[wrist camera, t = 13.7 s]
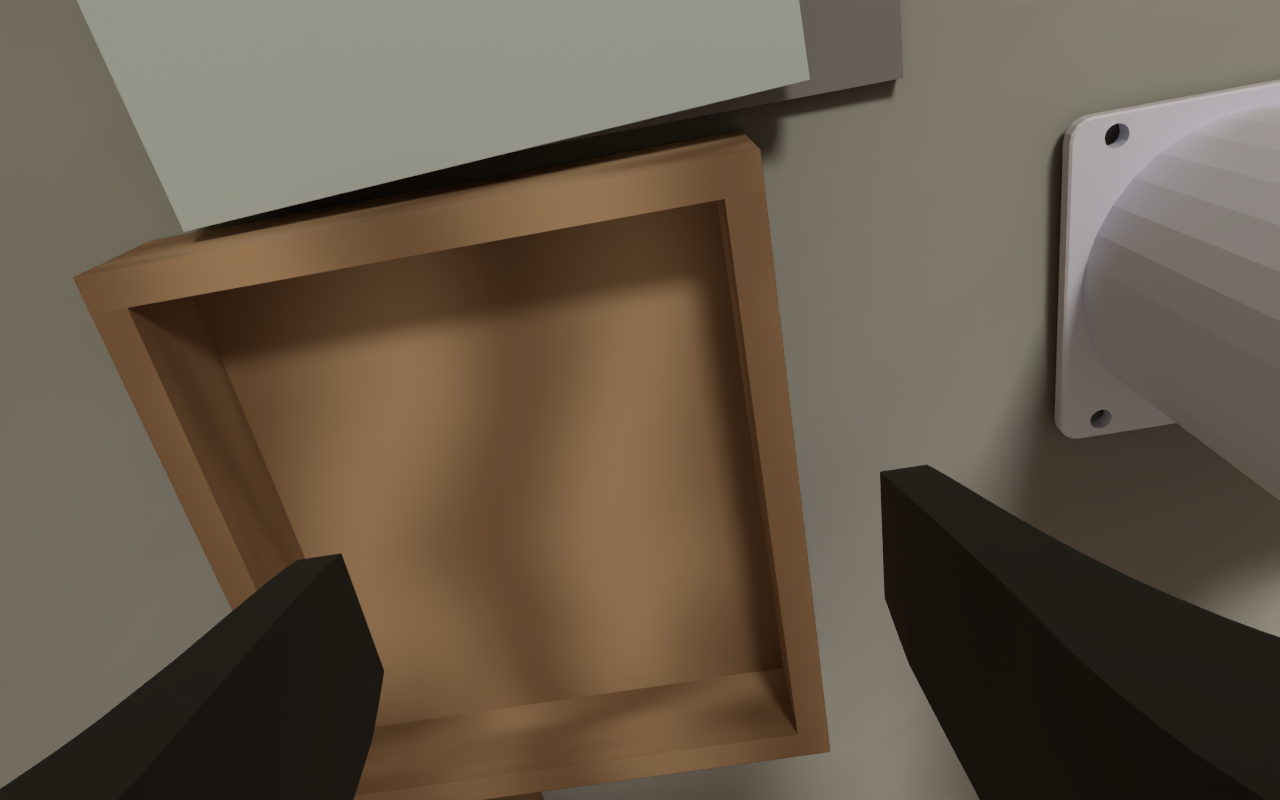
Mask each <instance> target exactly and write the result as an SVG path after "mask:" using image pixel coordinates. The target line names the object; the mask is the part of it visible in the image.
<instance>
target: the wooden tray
mask: <svg viewBox="0 0 1280 800" xmlns="http://www.w3.org/2000/svg"><path fill="white" fill-rule="evenodd" d="M73 279H74V281H75V283H76V285H77V287H78V289H79V291H80V293H81V295H82V298H83V300H84V302H85V304H86V306H87V308H88V310H89V312H90V314H91V316H92V318H93V321H94V323H95V325H96V327H97V329H98V331H99V333H100V335H101V337H102V339H103V341H104V344H105V346H106V348H107V350H108V352H109V354H110V356H111V358H112V360H113V362H114V364H115V367H116V369H117V371H118V373H119V375H120V377H121V379H122V381H123V383H124V385H125V387H126V389H127V392H128V394H129V396H130V398H131V400H132V402H133V404H134V406H135V408H136V410H137V412H138V415H139V417H140V419H141V421H142V423H143V425H144V427H145V429H146V431H147V433H148V435H149V438H150V440H151V442H152V444H153V446H154V448H155V450H156V452H157V454H158V456H159V458H160V460H161V463H162V465H163V467H164V469H165V471H166V473H167V475H168V477H169V479H170V481H171V483H172V486H173V488H174V490H175V492H176V494H177V496H178V498H179V500H180V502H181V504H182V506H183V509H184V511H185V513H186V515H187V517H188V519H189V521H190V523H191V525H192V527H193V529H194V532H195V534H196V536H197V538H198V540H199V542H200V544H201V546H202V548H203V550H204V552H205V554H206V557H207V559H208V561H209V563H210V565H211V567H212V569H213V571H214V573H215V575H216V577H217V580H218V582H219V584H220V586H221V588H222V590H223V592H224V594H225V596H226V598H227V600H228V603H229V605H230V607H231V609H232V611H233V610H235V609H236V608H237V607H238V606H239V605H240V604H242V603H243V602H244V601H245V600H246V599H248V598H249V597H250V596H251V595H252V594H254V593H255V592H256V591H257V590H258V589H260V588H261V587H262V586H263V585H264V584H266V583H267V582H268V581H269V580H271V579H272V578H273V577H274V576H276V575H277V574H278V573H280V572H281V571H282V570H283V569H285V568H286V567H288V566H289V565H291V564H292V563H293V562H295V561H296V560H300V559H307V558H313V557H320V556H327V555H333V554H340V553H342V556H343V559H344V562H345V564H346V567H347V570H348V573H349V575H350V578H351V581H352V584H353V586H354V589H355V592H356V594H357V597H358V600H359V603H360V605H361V608H362V611H363V614H364V616H365V619H366V622H367V625H368V627H369V630H370V633H371V636H372V638H373V641H374V644H375V647H376V649H377V652H378V655H379V658H380V660H381V663H382V666H383V669H384V676H383V683H382V689H381V695H380V701H379V707H378V713H377V718H376V723H375V728H374V733H373V738H372V743H371V746H370V749H369V752H368V756H367V759H366V762H365V765H364V768H363V772H362V775H361V778H360V781H359V784H358V787H357V790H356V793H355V796H354V800H543V797H542V794H541V792H542V791H549V790H556V789H564V788H571V787H578V786H585V785H593V784H600V783H607V782H614V781H622V780H629V779H636V778H644V777H651V776H658V775H665V774H673V773H680V772H687V771H694V770H702V769H709V768H716V767H724V766H731V765H738V764H745V763H753V762H760V761H767V760H774V759H782V758H789V757H796V756H803V755H811V754H818V753H825V752H830V745H829V736H828V727H827V719H826V710H825V702H824V693H823V684H822V676H821V667H820V659H819V650H818V641H817V633H816V624H815V615H814V607H813V598H812V590H811V581H810V572H809V564H808V555H807V546H806V538H805V529H804V521H803V512H802V503H801V495H800V486H799V477H798V469H797V460H796V452H795V443H794V434H793V426H792V417H791V409H790V400H789V391H788V383H787V374H786V365H785V357H784V348H783V340H782V331H781V322H780V314H779V305H778V296H777V288H776V279H775V271H774V262H773V253H772V245H771V236H770V227H769V219H768V210H767V202H766V193H765V184H764V176H763V167H762V159H761V150H760V149H759V148H758V147H757V146H756V145H755V144H754V142H753V141H752V140H751V139H750V138H749V137H748V136H747V135H746V134H745V133H744V132H743V131H742V130H739V131H734V132H729V133H723V134H718V135H713V136H707V137H702V138H697V139H691V140H686V141H681V142H675V143H670V144H665V145H659V146H654V147H649V148H643V149H638V150H633V151H627V152H622V153H617V154H611V155H606V156H601V157H595V158H590V159H585V160H579V161H574V162H569V163H563V164H558V165H553V166H547V167H542V168H537V169H531V170H526V171H521V172H515V173H510V174H505V175H499V176H494V177H489V178H483V179H478V180H473V181H467V182H462V183H457V184H451V185H446V186H441V187H435V188H430V189H425V190H419V191H414V192H409V193H403V194H398V195H393V196H387V197H382V198H377V199H371V200H366V201H361V202H355V203H350V204H345V205H339V206H334V207H329V208H323V209H318V210H313V211H307V212H302V213H297V214H291V215H286V216H281V217H275V218H270V219H265V220H259V221H254V222H249V223H243V224H238V225H233V226H227V227H222V228H217V229H211V230H206V231H201V232H195V233H190V234H185V235H179V236H174V237H169V238H163V239H158V240H153V241H149V242H147V243H145V244H143V245H141V246H138V247H136V248H134V249H132V250H130V251H128V252H126V253H124V254H122V255H119V256H117V257H115V258H113V259H111V260H109V261H107V262H105V263H103V264H100V265H98V266H96V267H94V268H92V269H90V270H88V271H86V272H84V273H81V274H79V275H77V276H75V277H73Z"/></svg>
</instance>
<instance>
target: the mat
mask: <svg viewBox="0 0 1280 800" xmlns="http://www.w3.org/2000/svg"><path fill="white" fill-rule="evenodd" d="M799 3H800V11H801V18H802V25H803V33H804V40H805V47H806V54H807V62H808V69H809V76H810V80H806V81H802V82H798V83H794V84H790V85H786V86H782V87H778V88H773V89H769V90H765V91H761V92H757V93H753V94H749V95H745V96H741V97H736V98H732V99H728V100H724V101H720V102H716V103H712V104H708V105H704V106H699V107H695V108H691V109H687V110H683V111H679V112H675V113H671V114H667V115H662V116H658V117H654V118H650V119H646V120H642V121H638V122H634V123H630V124H625V125H621V126H617V127H613V128H609V129H605V130H601V131H597V132H593V133H588V134H584V135H580V136H576V137H572V138H568V139H564V140H560V141H556V142H551V143H547V144H543V145H539V146H535V147H531V148H536V147H541V146H547V145H552V144H557V143H563V142H568V141H573V140H578V139H584V138H589V137H594V136H600V135H605V134H610V133H615V132H621V131H626V130H631V129H637V128H642V127H647V126H652V125H658V124H663V123H668V122H674V121H679V120H684V119H689V118H695V117H700V116H705V115H711V114H716V113H721V112H726V111H732V110H737V109H742V108H748V107H753V106H758V105H763V104H769V103H774V102H779V101H785V100H790V99H795V98H800V97H806V96H811V95H816V94H822V93H827V92H832V91H837V90H843V89H848V88H853V87H859V86H864V85H869V84H874V83H880V82H885V81H890V80H896V79H901V78H903V66H902V44H901V22H900V0H799ZM531 148H527V149H531ZM523 150H526V149H523ZM519 151H520V150H519ZM514 152H515V151H514Z"/></svg>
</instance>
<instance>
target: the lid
mask: <svg viewBox="0 0 1280 800" xmlns="http://www.w3.org/2000/svg"><path fill="white" fill-rule="evenodd" d="M77 2H78V4H79V7H80V9H81V11H82V13H83V15H84V17H85V20H86V22H87V24H88V26H89V28H90V30H91V32H92V35H93V37H94V39H95V41H96V43H97V45H98V48H99V50H100V52H101V54H102V56H103V58H104V61H105V63H106V65H107V67H108V69H109V71H110V73H111V76H112V78H113V80H114V82H115V84H116V86H117V89H118V91H119V93H120V95H121V97H122V99H123V101H124V104H125V106H126V108H127V110H128V112H129V114H130V117H131V119H132V121H133V123H134V125H135V127H136V130H137V132H138V134H139V136H140V138H141V140H142V142H143V145H144V147H145V149H146V151H147V153H148V155H149V158H150V160H151V162H152V164H153V166H154V168H155V171H156V173H157V175H158V177H159V179H160V181H161V183H162V186H163V188H164V190H165V192H166V194H167V196H168V199H169V201H170V203H171V205H172V207H173V209H174V212H175V214H176V216H177V218H178V220H179V222H180V224H181V227H182V229H183V231H184V232H186V231H190V230H194V229H198V228H202V227H206V226H210V225H214V224H218V223H223V222H227V221H231V220H235V219H239V218H243V217H247V216H251V215H255V214H260V213H264V212H268V211H272V210H276V209H280V208H284V207H288V206H292V205H297V204H301V203H305V202H309V201H313V200H317V199H321V198H325V197H329V196H334V195H338V194H342V193H346V192H350V191H354V190H358V189H362V188H366V187H371V186H375V185H379V184H383V183H387V182H391V181H395V180H399V179H403V178H408V177H412V176H416V175H420V174H424V173H428V172H432V171H436V170H440V169H445V168H449V167H453V166H457V165H461V164H465V163H469V162H473V161H477V160H482V159H486V158H490V157H494V156H498V155H502V154H506V153H510V152H514V151H519V150H523V149H527V148H531V147H535V146H539V145H543V144H547V143H551V142H556V141H560V140H564V139H568V138H572V137H576V136H580V135H584V134H588V133H593V132H597V131H601V130H605V129H609V128H613V127H617V126H621V125H625V124H630V123H634V122H638V121H642V120H646V119H650V118H654V117H658V116H662V115H667V114H671V113H675V112H679V111H683V110H687V109H691V108H695V107H699V106H704V105H708V104H712V103H716V102H720V101H724V100H728V99H732V98H736V97H741V96H745V95H749V94H753V93H757V92H761V91H765V90H769V89H773V88H778V87H782V86H786V85H790V84H794V83H798V82H802V81H806V80H810V76H809V69H808V62H807V54H806V47H805V40H804V33H803V25H802V18H801V11H800V3H799V0H77Z"/></svg>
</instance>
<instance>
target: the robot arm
mask: <svg viewBox="0 0 1280 800" xmlns="http://www.w3.org/2000/svg"><path fill="white" fill-rule="evenodd" d="M1115 124H1118V125H1119V129H1120V133H1119V136H1118V138H1117V139H1116V141H1115V142H1114V143H1112V144H1110V145H1108V146H1107V145H1106V143H1105V135H1106V132H1107V130H1108V129H1109V128H1110V127H1111V126H1113V125H1115ZM1099 410H1104V412H1103V415H1102V416H1101V417H1100V418H1099V419H1098V420H1095V421H1090V420H1091V417H1092V415H1093V414H1094V413H1095V412H1097V411H1099ZM1174 423H1177V424H1178V425H1180V426H1181V427H1182V428H1184V429H1185V430H1186V431H1188V432H1189V433H1190V434H1192V435H1193V436H1194V437H1196V438H1197V439H1198V440H1200V441H1201V442H1202V443H1204V444H1205V445H1206V446H1208V447H1209V448H1210V449H1211V450H1213V451H1214V452H1215V453H1217V454H1218V455H1219V456H1221V457H1222V458H1223V459H1225V460H1226V461H1227V462H1229V463H1230V464H1231V465H1233V466H1234V467H1235V468H1237V469H1238V470H1239V471H1241V472H1242V473H1243V474H1245V475H1246V476H1247V477H1249V478H1250V479H1251V480H1253V481H1254V482H1255V483H1257V484H1258V485H1259V486H1261V487H1262V488H1263V489H1265V490H1266V491H1267V492H1269V493H1270V494H1271V495H1273V496H1274V497H1275V498H1277V499H1278V500H1279V501H1280V79H1279V80H1273V81H1268V82H1262V83H1257V84H1251V85H1246V86H1241V87H1235V88H1230V89H1224V90H1219V91H1213V92H1208V93H1202V94H1197V95H1192V96H1186V97H1181V98H1175V99H1170V100H1164V101H1159V102H1153V103H1148V104H1143V105H1137V106H1132V107H1126V108H1121V109H1115V110H1110V111H1104V112H1099V113H1094V114H1088V115H1085V116H1082V117H1080V118H1077V119H1076V120H1075V121H1074V122H1073V123H1072V124H1070V126H1069V127H1068V129H1067V131H1066V132H1065V135H1064V140H1063V160H1062V193H1061V225H1060V258H1059V291H1058V324H1057V357H1056V390H1055V424H1056V426H1057V428H1058V429H1059V430H1060V431H1061V432H1062V433H1063V434H1064V435H1065V436H1067V437H1069V438H1072V439H1080V438H1086V437H1093V436H1099V435H1105V434H1111V433H1118V432H1124V431H1130V430H1137V429H1143V428H1149V427H1156V426H1162V425H1168V424H1174ZM880 482H881V510H882V537H883V564H884V591H885V600H886V602H887V605H888V608H889V611H890V614H891V616H892V619H893V622H894V625H895V628H896V630H897V633H898V636H899V639H900V641H901V644H902V646H903V649H904V652H905V654H906V657H907V660H908V662H909V665H910V667H911V669H912V671H913V673H914V675H915V677H916V678H917V680H918V682H919V684H920V686H921V688H922V690H923V692H924V694H925V696H926V698H927V700H928V702H929V704H930V706H931V708H932V709H933V711H934V713H935V715H936V717H937V719H938V721H939V723H940V725H941V727H942V729H943V730H944V732H945V734H946V736H947V738H948V740H949V742H950V744H951V746H952V748H953V749H954V751H955V753H956V755H957V757H958V759H959V761H960V763H961V765H962V767H963V768H964V770H965V772H966V774H967V776H968V778H969V780H970V782H971V784H972V786H973V787H974V789H975V791H976V793H977V795H978V797H979V799H980V800H1280V637H1277V636H1274V635H1271V634H1268V633H1265V632H1262V631H1259V630H1257V629H1254V628H1251V627H1249V626H1246V625H1243V624H1241V623H1238V622H1235V621H1233V620H1230V619H1227V618H1225V617H1222V616H1219V615H1217V614H1215V613H1212V612H1210V611H1207V610H1205V609H1203V608H1200V607H1198V606H1195V605H1193V604H1191V603H1188V602H1186V601H1183V600H1181V599H1178V598H1176V597H1174V596H1171V595H1169V594H1166V593H1164V592H1161V591H1159V590H1157V589H1155V588H1153V587H1150V586H1148V585H1146V584H1144V583H1142V582H1139V581H1137V580H1135V579H1133V578H1131V577H1129V576H1126V575H1124V574H1122V573H1120V572H1118V571H1116V570H1114V569H1112V568H1110V567H1108V566H1106V565H1104V564H1102V563H1100V562H1098V561H1096V560H1094V559H1092V558H1090V557H1088V556H1086V555H1084V554H1082V553H1080V552H1078V551H1076V550H1075V549H1073V548H1071V547H1069V546H1067V545H1065V544H1063V543H1061V542H1060V541H1058V540H1056V539H1054V538H1052V537H1050V536H1049V535H1047V534H1045V533H1043V532H1041V531H1040V530H1038V529H1036V528H1034V527H1033V526H1031V525H1029V524H1027V523H1026V522H1024V521H1022V520H1020V519H1019V518H1017V517H1015V516H1013V515H1012V514H1010V513H1008V512H1007V511H1005V510H1003V509H1001V508H1000V507H998V506H996V505H995V504H993V503H991V502H990V501H988V500H986V499H985V498H983V497H981V496H980V495H978V494H976V493H975V492H973V491H971V490H970V489H968V488H966V487H965V486H963V485H961V484H960V483H958V482H956V481H955V480H953V479H951V478H950V477H948V476H946V475H945V474H943V473H941V472H939V471H938V470H936V469H934V468H932V467H930V466H928V465H922V466H915V467H909V468H902V469H896V470H889V471H882V472H880ZM383 676H384V669H383V666H382V663H381V660H380V658H379V655H378V652H377V649H376V647H375V644H374V641H373V638H372V636H371V633H370V630H369V627H368V625H367V622H366V619H365V616H364V614H363V611H362V608H361V605H360V603H359V600H358V597H357V594H356V592H355V589H354V586H353V584H352V581H351V578H350V575H349V573H348V570H347V567H346V564H345V562H344V559H343V556H342V553H340V554H333V555H327V556H320V557H313V558H307V559H300V560H296V561H295V562H293V563H292V564H291V565H289V566H288V567H286V568H285V569H283V570H282V571H281V572H280V573H278V574H277V575H276V576H274V577H273V578H272V579H271V580H269V581H268V582H267V583H266V584H264V585H263V586H262V587H261V588H260V589H258V590H257V591H256V592H255V593H254V594H252V595H251V596H250V597H249V598H248V599H246V600H245V601H244V602H243V603H242V604H240V605H239V606H238V607H237V608H236V609H235V610H233V611H232V612H231V613H230V614H229V615H227V616H226V617H225V618H224V619H223V620H222V621H220V622H219V623H218V624H217V625H216V626H214V627H213V628H212V629H211V630H210V631H209V632H207V633H206V634H205V635H204V636H203V637H201V638H200V639H199V640H198V641H197V642H195V643H194V644H193V645H192V646H191V647H190V648H188V649H187V650H186V651H185V652H184V653H182V654H181V655H180V656H179V657H178V658H176V659H175V660H174V661H173V662H172V663H170V664H169V665H168V666H167V667H165V668H164V669H163V670H162V671H160V672H159V673H158V674H156V675H155V676H154V677H153V678H151V679H150V680H149V681H148V682H146V683H145V684H144V685H142V686H141V687H140V688H139V689H137V690H136V691H135V692H134V693H132V694H131V695H130V696H129V697H127V698H126V699H125V700H123V701H122V702H121V703H120V704H118V705H117V706H116V707H115V708H113V709H112V710H111V711H110V712H108V713H107V714H106V715H104V716H103V717H102V718H101V719H99V720H98V721H97V722H95V723H94V724H93V725H91V726H90V727H89V728H87V729H86V730H85V731H83V732H82V733H81V734H79V735H78V736H76V737H75V738H74V739H72V740H71V741H69V742H68V743H67V744H65V745H64V746H62V747H61V748H60V749H58V750H57V751H55V752H54V753H53V754H51V755H50V756H48V757H47V758H45V759H44V760H42V761H41V762H39V763H38V764H36V765H35V766H34V767H32V768H31V769H29V770H28V771H26V772H25V773H23V774H22V775H20V776H19V777H17V778H16V779H14V780H13V781H12V782H10V783H9V784H7V785H6V786H4V787H3V788H1V789H0V800H354V796H355V793H356V790H357V787H358V784H359V781H360V778H361V775H362V772H363V768H364V765H365V762H366V759H367V756H368V752H369V749H370V746H371V743H372V738H373V733H374V728H375V723H376V718H377V713H378V707H379V701H380V695H381V689H382V683H383Z"/></svg>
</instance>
